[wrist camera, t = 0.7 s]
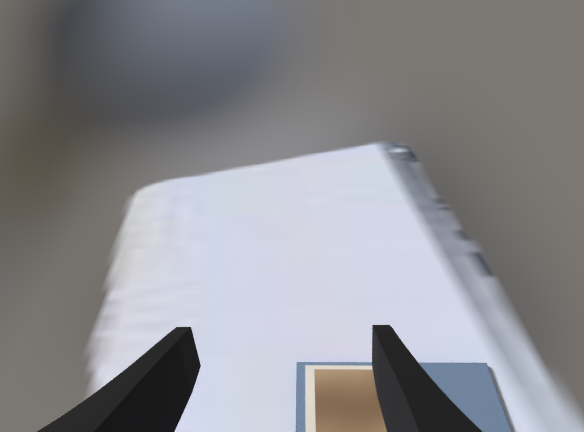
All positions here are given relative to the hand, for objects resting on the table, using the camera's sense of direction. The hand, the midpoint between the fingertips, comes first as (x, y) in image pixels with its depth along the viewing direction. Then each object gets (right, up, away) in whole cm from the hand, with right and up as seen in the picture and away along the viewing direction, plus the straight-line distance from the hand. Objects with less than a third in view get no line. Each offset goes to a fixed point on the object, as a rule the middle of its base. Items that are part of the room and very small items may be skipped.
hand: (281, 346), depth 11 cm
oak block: (+5, -10, +11) cm, 15 cm away
